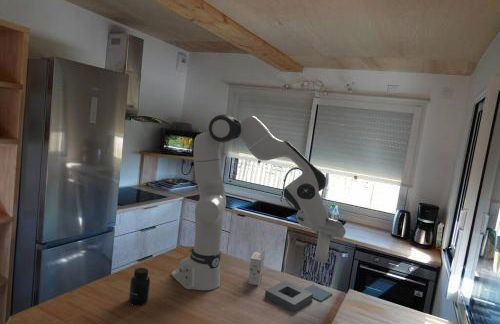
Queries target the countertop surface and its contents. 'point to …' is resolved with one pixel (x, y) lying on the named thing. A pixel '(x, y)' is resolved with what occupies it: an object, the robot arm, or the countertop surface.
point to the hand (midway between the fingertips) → (325, 235)
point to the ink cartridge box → (256, 268)
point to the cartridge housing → (290, 303)
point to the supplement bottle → (139, 287)
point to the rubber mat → (318, 293)
